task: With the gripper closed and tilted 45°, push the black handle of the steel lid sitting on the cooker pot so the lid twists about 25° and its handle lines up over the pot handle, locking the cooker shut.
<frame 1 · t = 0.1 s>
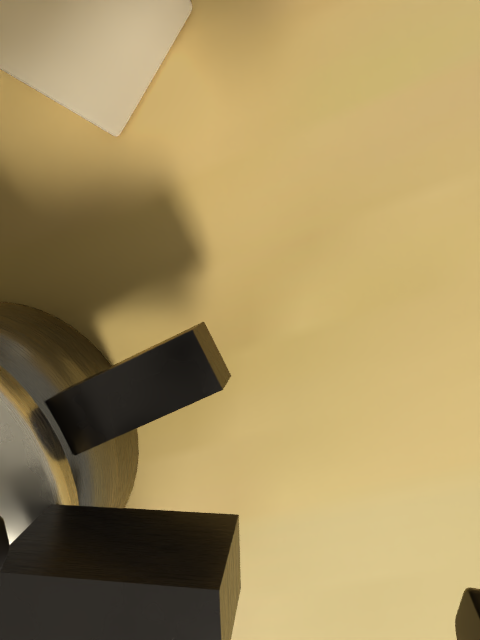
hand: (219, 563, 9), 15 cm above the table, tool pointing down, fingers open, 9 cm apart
milk carton: (100, 37, 23), on the table
cooker pot: (7, 437, 27), on the table
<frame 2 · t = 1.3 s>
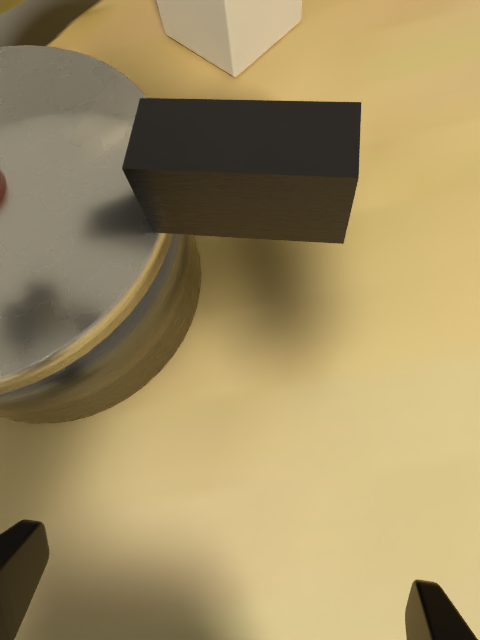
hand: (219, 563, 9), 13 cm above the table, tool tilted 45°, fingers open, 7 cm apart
milk carton: (233, 32, 34), on the table
cooker lid: (33, 178, 17), point 10 cm above the table, hinge at -25.0°
cooker pot: (65, 285, 27), on the table
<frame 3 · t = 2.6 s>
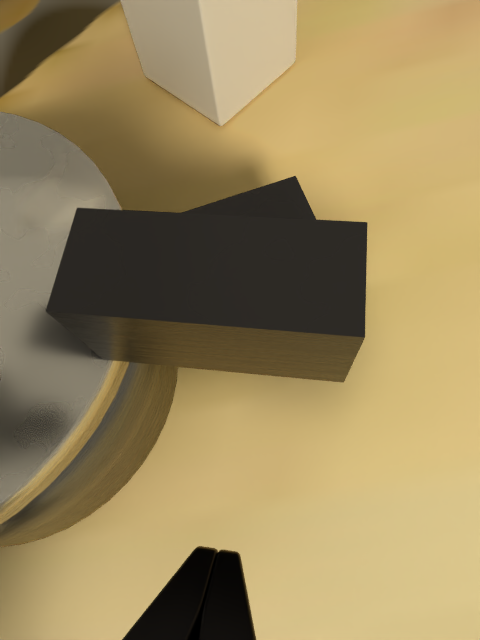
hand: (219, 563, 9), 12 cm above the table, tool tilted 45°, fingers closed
milk carton: (220, 74, 30), on the table
cooker pot: (22, 371, 23), on the table
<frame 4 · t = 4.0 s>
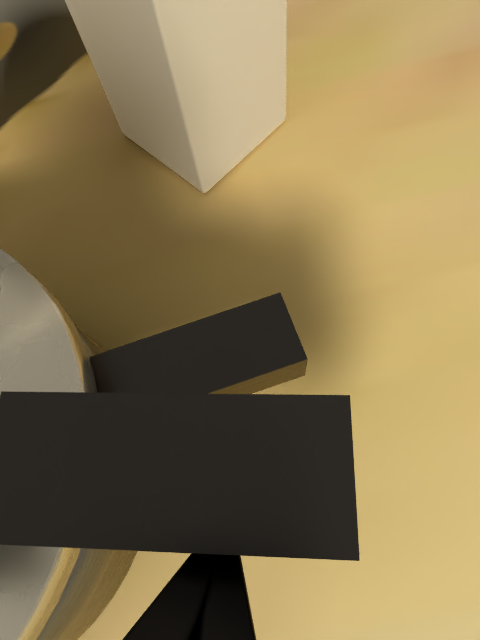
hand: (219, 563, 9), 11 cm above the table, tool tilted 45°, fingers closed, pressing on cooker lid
milk carton: (204, 131, 28), on the table
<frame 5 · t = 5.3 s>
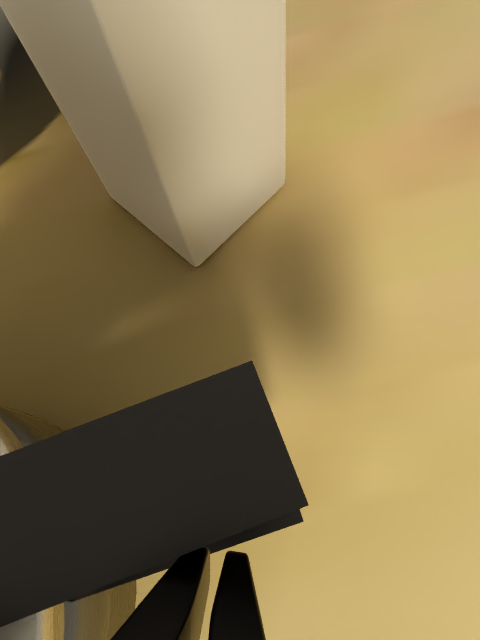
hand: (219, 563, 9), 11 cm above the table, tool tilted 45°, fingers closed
milk carton: (197, 193, 26), on the table
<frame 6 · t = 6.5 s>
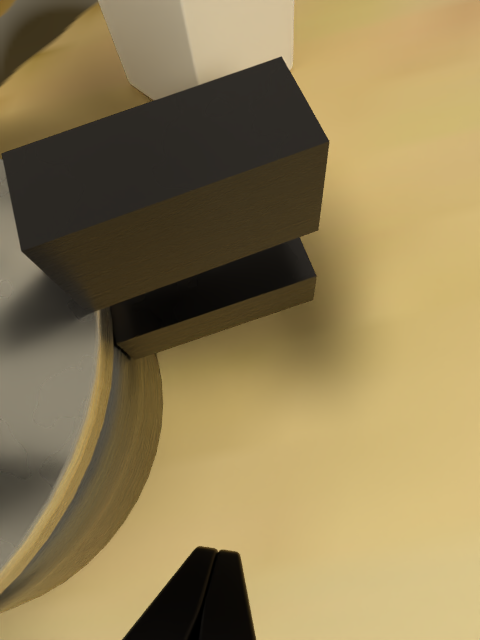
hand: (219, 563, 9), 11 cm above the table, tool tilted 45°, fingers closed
milk carton: (211, 80, 28), on the table
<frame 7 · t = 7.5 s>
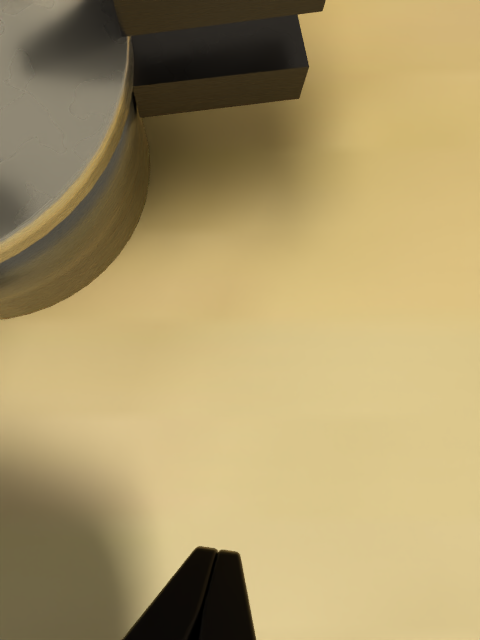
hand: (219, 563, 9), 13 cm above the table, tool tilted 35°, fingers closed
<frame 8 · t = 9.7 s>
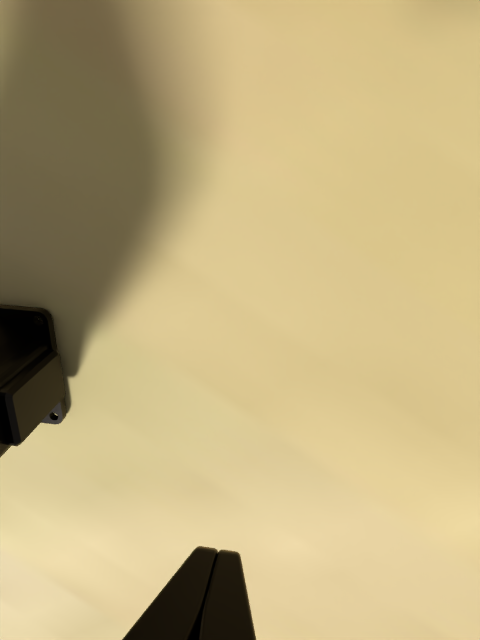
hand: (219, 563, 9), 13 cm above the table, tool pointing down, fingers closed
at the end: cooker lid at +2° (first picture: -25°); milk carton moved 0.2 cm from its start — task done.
